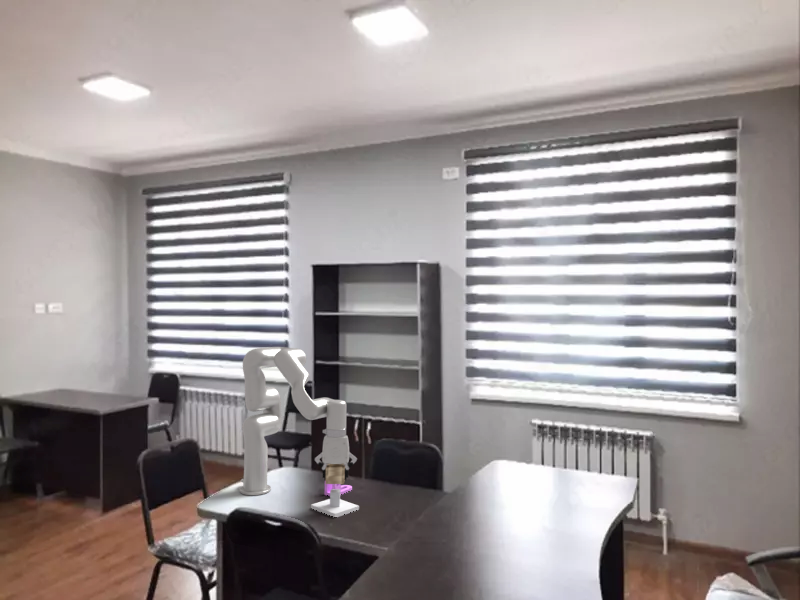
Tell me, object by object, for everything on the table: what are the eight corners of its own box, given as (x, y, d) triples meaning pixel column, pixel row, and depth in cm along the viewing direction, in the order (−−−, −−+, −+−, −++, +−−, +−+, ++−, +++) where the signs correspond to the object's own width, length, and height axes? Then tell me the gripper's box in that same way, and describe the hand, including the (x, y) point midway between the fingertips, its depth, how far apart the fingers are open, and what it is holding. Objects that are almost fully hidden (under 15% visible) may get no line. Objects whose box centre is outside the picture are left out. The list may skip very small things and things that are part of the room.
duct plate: (310, 508, 216) (311, 490, 216) (334, 501, 225) (335, 483, 225) (335, 517, 207) (335, 498, 207) (359, 509, 216) (359, 491, 216)
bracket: (334, 497, 229) (335, 480, 230) (324, 495, 232) (324, 478, 233) (354, 489, 240) (354, 473, 240) (344, 487, 243) (344, 471, 243)
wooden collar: (325, 484, 212) (325, 467, 212) (327, 478, 219) (327, 463, 219) (344, 484, 213) (344, 468, 213) (345, 478, 220) (345, 463, 220)
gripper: (312, 434, 212) (311, 482, 212) (358, 435, 213) (358, 482, 213) (314, 430, 220) (313, 476, 219) (359, 430, 221) (358, 476, 220)
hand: (335, 479), depth 216 cm, fingers closed on wooden collar, 7 cm apart
